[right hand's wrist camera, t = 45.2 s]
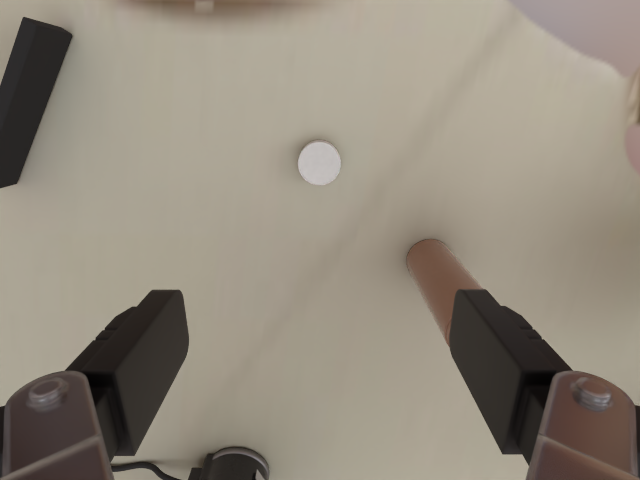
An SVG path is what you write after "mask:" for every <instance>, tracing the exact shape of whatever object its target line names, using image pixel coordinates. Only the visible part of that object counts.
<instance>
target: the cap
mask: <svg viewBox="0 0 640 480" xmlns="http://www.w3.org/2000/svg"><path fill="white" fill-rule="evenodd" d="M340 168H341V160H340V156H339V153H338V151H337V149H336V148H335V147H334V146H333V145H332V144H331V143H329V142H327V141H325V140H314V141H311V142H309V143H308V144H307V145H305V146H304V148H303V149H302V151H301V153H300V156H299V159H298V169H299V172H300V174H301V175H302V177H303V178H304V179H305V180H306V181H307V182H309V183H311V184H314V185H325V184H328V183H330V182H332V181H333V180H334V179H335V178H336V177H337V175H338V174H339V171H340Z"/></svg>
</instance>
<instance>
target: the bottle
mask: <svg viewBox="0 0 640 480" xmlns="http://www.w3.org/2000/svg"><path fill="white" fill-rule="evenodd" d="M406 263H407V267H408V270H409V272H410V274H411V275H412V277H413V279H414V281H415V283H416V285H417V287H418V289H419V291H420V293H421V295H422V297H423V298H424V300H425V302H426V304H427V306H428V308H429V310H430V312H431V314H432V316H433V318H434V320H435V321H436V323H437V325H438V327H439V329H440V331H441V333H442V335H443V337H444V339H445V341H446V343H447V344H448V346H449V347H450V345H449V333H450V326H451V319H452V312H453V305H454V298H455V294H456V292H457V290H459V289H483V288H482V287H481V285H480V284H479V283H478V282H477V281H476V280H475V279H474V277H473V276H472V275H471V274H470V273H469V272H468V270H467V269H466V268H465V267H464V266H463V265H462V264H461V262H460V261H459V260H458V259H457V258H456V257H455V255H454V254H453V253H452V252H451V251H450V250H449V249H448V247H447V246H446V245H445V244H444V243H442V242H440V241H438V240H434V239H428V240H423V241H420V242H418V243H417V244H415V245H414V246H413V247H412V248H411V249H410V251H409V253H408V255H407V260H406Z"/></svg>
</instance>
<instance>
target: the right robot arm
mask: <svg viewBox="0 0 640 480" xmlns="http://www.w3.org/2000/svg"><path fill="white" fill-rule="evenodd" d="M449 345H450V351H451V355H452V357H453V359H454V361H455V363H456V365H457V367H458V369H459V371H460V373H461V375H462V377H463V379H464V380H465V382H466V384H467V386H468V388H469V390H470V392H471V394H472V396H473V398H474V400H475V402H476V404H477V406H478V408H479V410H480V411H481V413H482V415H483V417H484V419H485V421H486V423H487V425H488V427H489V429H490V431H491V433H492V435H493V437H494V439H495V441H496V443H497V444H498V446H499V448H500V450H501V452H502V454H523V456H524V458H525V460H526V461H527V463H528V465H529V469H528V472H527V476H526V480H640V406H636V405H634V403H633V401H632V400H631V399H630V397H629V396H628V395H627V394H626V393H625V392H623V391H622V390H621V389H620V388H618V387H617V386H615V385H614V384H612V383H610V382H608V381H607V380H604V379H602V378H600V377H597V376H595V375H592V374H588V373H584V372H579V371H573V370H572V369H571V368H570V367H569V366H568V365H567V364H566V363H565V362H564V360H563V359H562V358H561V357H560V356H559V355H558V354H557V353H556V352H555V351H554V350H553V349H552V348H551V347H550V346H549V344H548V343H547V342H546V341H545V340H544V339H542V338H541V336H540V335H539V334H538V333H537V332H536V331H535V330H533V329H532V326H531V325H530V324H529V323H528V322H527V321H526V320H525V319H524V318H523V317H522V316H521V315H519V314H518V313H516V312H514V311H513V310H511V309H509V308H508V307H506V306H500V305H499V304H498V302H497V301H496V300H495V299H494V298H493V297H492V296H491V294H490V293H489V292H488V291H487V290H485V289H459V290H457V292H456V294H455V298H454V305H453V312H452V319H451V326H450V333H449ZM188 346H189V334H188V327H187V320H186V313H185V306H184V299H183V295H182V292H181V291H180V290H152V291H150V292H149V294H148V295H147V296H146V297H145V298H144V299H143V300H142V301H141V303H140V304H139V305H138V306H137V307H131V308H129V309H128V310H126V311H124V312H123V313H121V314H119V315H118V316H116V317H115V318H114V319H113V320H112V321H111V322H110V323H109V324H108V325H107V326H106V327H105V330H103V331H102V332H101V333H100V334H99V335H98V336H97V337H96V340H93V341H92V342H91V343H90V344H89V345H88V347H87V348H86V349H85V350H84V351H83V352H82V353H81V354H80V355H79V356H78V357H77V358H76V359H75V360H74V361H73V362H72V363H71V365H70V366H69V367H68V368H67V369H66V370H65V371H61V372H56V373H52V374H48V375H45V376H43V377H40V378H38V379H36V380H33V381H32V382H30V383H28V384H26V385H25V386H23V387H22V388H20V389H19V390H18V391H17V392H15V393H14V394H13V395H12V396H11V397H10V399H9V400H8V401H7V403H6V405H5V406H2V407H0V480H114V476H113V472H118V471H125V470H130V469H135V468H147V469H150V470H152V471H153V472H154V473H155V474H156V475H157V476H158V477H160V478H161V479H163V480H180V479H177V478H174V477H171V476H169V475H167V474H165V473H163V472H162V471H161V470H160V469H159V468H158V467H157V466H155V465H154V464H151V463H146V462H139V463H132V464H127V465H122V466H111V465H110V462H111V461H112V459H113V457H114V456H135V454H136V452H137V450H138V448H139V446H140V444H141V442H142V440H143V438H144V436H145V435H146V433H147V431H148V429H149V427H150V425H151V423H152V421H153V419H154V417H155V415H156V413H157V412H158V410H159V408H160V406H161V404H162V402H163V400H164V398H165V396H166V394H167V392H168V390H169V389H170V387H171V385H172V383H173V381H174V379H175V377H176V375H177V373H178V371H179V369H180V367H181V366H182V364H183V362H184V360H185V358H186V355H187V352H188ZM268 479H269V467H268V464H267V463H266V461H265V460H264V459H263V458H262V457H261V456H260V455H259V454H257V453H255V452H253V451H251V450H248V449H244V448H227V449H223V450H221V451H219V452H217V453H215V454H207V455H206V459H205V462H204V465H203V468H192V470H191V473H190V476H189V478H188V480H268Z"/></svg>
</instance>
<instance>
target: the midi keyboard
mask: <svg viewBox="0 0 640 480" xmlns="http://www.w3.org/2000/svg"><path fill="white" fill-rule="evenodd" d="M71 38H72V34H71V33H69V32H68V31H66V30H64V29H63V28H61V27H58V26H54V25H51V24H47V23H44V22H40V21H36V20H33V19H29V18H26V17H23V19H22V22H21V25H20V28H19V31H18V34H17V37H16V40H15V43H14V46H13V49H12V52H11V55H10V58H9V61H8V64H7V67H6V70H5V73H4V76H3V79H2V82H1V85H0V188H3V187H7V186H10V185H14V184H17V181H18V178H19V176H20V173H21V171H22V168H23V165H24V163H25V160H26V157H27V155H28V152H29V149H30V147H31V144H32V141H33V139H34V136H35V133H36V131H37V128H38V125H39V123H40V120H41V117H42V115H43V112H44V109H45V107H46V104H47V101H48V99H49V96H50V93H51V91H52V88H53V85H54V83H55V80H56V77H57V75H58V72H59V69H60V67H61V64H62V61H63V59H64V56H65V54H66V51H67V48H68V46H69V43H70V40H71Z"/></svg>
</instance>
